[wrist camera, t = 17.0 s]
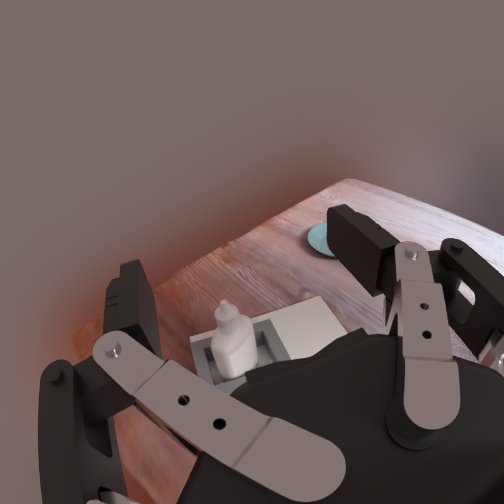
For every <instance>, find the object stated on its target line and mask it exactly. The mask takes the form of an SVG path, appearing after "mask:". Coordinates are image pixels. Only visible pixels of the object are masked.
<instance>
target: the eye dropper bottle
mask: <svg viewBox="0 0 504 504" xmlns="http://www.w3.org/2000/svg"><path fill="white" fill-rule="evenodd" d="M214 316H215V319H216V323H217V328H216V330H215V332H214V334H213V337H212V341H211V350H212V353H213V356H214V359H215V362H216V365H217V367H218V370H219V373H220V375H221V378H222V380H223V382H224V383H225V382H228V381H231V380H234V379H238V378H241V377H244V376H245V373H244V372H247V371H250V370H253V369H256V366H257V362H258V352H257V346H256V340H255V335H254V329H253V324H252V321H251V319H250V318H249V317H248V316H245V315H242V314H239V311H238V308H237V307H236V306H234V305H232V304H228V302H227V300H221V301H220V306H219V307H218V308H217V309H216V310H215V312H214Z"/></svg>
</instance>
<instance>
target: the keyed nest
mask: <svg viewBox="0 0 504 504" xmlns="http://www.w3.org/2000/svg"><path fill="white" fill-rule="evenodd" d="M251 321H252V324H253V329H254V335H255V340H256V346H257V352H258V362H257V366H256V368H259V367H262V366H265V365H268V364H271V363H274V362H278V361H285V360H292V359H299V358H306V357H310V356H313V355H314V354H316V353H317V352H318V351H320V350H321V349H323V348H324V347H325V346H327V345H328V344H330V343H331V342H332V341H334V340H335V339H336V338H339V337H341V336H344V335H346V334H348V333H347V332H346V330H345V329H344V328H343V326H342V325H341V324H340V322H339V321H338V319H337V318H336V317H335V315H334V314H333V313H332V311H331V310H330V309H329V307H328V306H327V305H326V303H325V302H324V300H323V299H322V298H321V296H320V295H319V296H317V297H314V298H311V299H308V300H305V301H302V302H299V303H297V304H294V305H291V306H288V307H285V308H282V309H279V310H276V311H273V312H270V313H267V314H264V315H260V316H257V317H254V318H251ZM215 330H216V329H215ZM215 330H212V331H208V332H205V333H201V334H198V335H194V336H191V337H190V342H191V343H190V346H191V351H192V355H193V359H194V363H195V367H196V371H197V375H198V377H199V378H201V379H203V380H204V381H206V382H207V383H209V384H211V385H212V386H214V387H216V388H217V389H219V390H221V391H222V392H224V393H226V394H228V395H230V394H231V393H232V392H233V391H234V390H235V389H236V388H238V387H239V386H240V385H242V384H243V383H245V382H246V381H247V380H246V376H244V377H241V378H238V379H234V380H231V381H228V382H225V383H224V382H223V380H222V378H221V375H220V373H219V370H218V367H217V365H216V362H215V359H214V356H213V353H212V350H211V341H212V337H213V334H214V332H215Z"/></svg>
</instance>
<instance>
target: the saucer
mask: <svg viewBox="0 0 504 504" xmlns="http://www.w3.org/2000/svg"><path fill="white" fill-rule="evenodd" d="M326 237H327V222H323V223H320V224H318V225H316V226H314V227H313V228H312V229H311V230H310V231H309V233H308V242H309V243H310V245H311V246H312V247H313V248H314V249H316V250H317V251H318V252H320V253H322V254H324V255H327V256H331V257H335V256H334V255H333V254H332V252H331V251H330V250H329V247H328V245H327V239H326Z"/></svg>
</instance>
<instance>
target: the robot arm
mask: <svg viewBox="0 0 504 504" xmlns="http://www.w3.org/2000/svg"><path fill="white" fill-rule="evenodd" d="M326 239H327V245H328V247H329V250H330V251H331V252H332V254H333V255H334V256H335V257H336V258H337V259H338V260H339V261H340V262H341V263H342V264H343V265H344V266H345V267H346V268H347V270H348V271H349V272H350V273H351V274H352V275H353V276H354V277H355V278H356V279H357V280H358V282H359V283H360V284H361V285H362V286H363V287H364V288H365V289H366V290H367V291H368V293H369V294H370V295H371V296H372V297H375V296H377V295H380V294H382V293H383V294H384V295H385V298H384V308H383V333H382V334H372V335H368V334H367V333H366V332H365V330H364V329H363V328H360V329H357V330H355V331H353V332H351V333H348V334H346V335H344V336H341V337H339V338H336V339H335V340H334V341H332V342H331V343H330V344H328V345H327V346H325V347H324V348H323V349H321V350H320V351H318V352H317V353H316V354H314V355H313V356H310V357H306V358H299V359H292V360H285V361H278V362H274V363H271V364H268V365H265V366H262V367H259V368H256V369H253V370H250V371H247V372H244V373H245V376H246V380H247V381H246V382H245V383H243V384H242V385H240V386H239V387H238V388H236V389H235V390H234V391H233V392H232V393H231V394H230V395H228V394H226V393H224V392H222V391H221V390H219V389H217V388H216V387H214V386H212V385H211V384H209V383H207V382H206V381H204V380H203V379H201V378H199V377H198V376H196V375H195V374H193V373H192V372H190V371H189V370H187V369H185V368H184V367H182V366H181V365H179V364H178V363H176V362H175V361H173V360H171V359H167V360H166V361H165V362H164V361H163V360H162V354H161V347H160V339H159V332H158V324H157V315H156V306H155V300H154V296H153V292H152V289H151V287H150V285H149V282H148V280H147V277H146V275H145V273H144V270H143V267H142V265H141V262H140V260H139V259H136V260H132V261H129V262H126V263H122V264H121V266H120V277H119V278H116V279H112V281H111V282H110V284H109V286H108V288H107V289H106V301H105V311H104V325H103V336H102V337H100V338H99V339H98V340H97V342H96V343H95V345H94V347H93V353H92V354H93V355H92V356H90V357H89V358H87V359H86V360H84V361H82V362H80V363H78V364H76V365H75V366H72V365H71V364H70V362H68V361H66V360H56V361H54V362H52V363H51V364H49V365H48V366H47V367H46V368H45V370H44V371H43V373H42V376H41V380H40V391H39V410H38V454H39V472H40V483H41V493H42V501H43V504H141V503H140V502H138V501H136V500H134V499H131V498H129V497H128V493H127V489H126V484H125V480H124V475H123V472H122V466H121V461H120V456H119V450H118V445H117V439H116V433H115V426H114V419H113V415H115V414H117V413H118V412H120V411H122V410H124V409H126V408H128V407H129V406H131V405H133V406H134V407H136V408H137V409H138V410H139V411H140V412H141V413H142V414H143V415H145V416H146V417H147V418H148V419H149V420H150V421H152V422H153V423H154V424H155V425H156V426H158V427H159V428H160V429H161V430H162V431H164V432H165V433H166V434H167V435H168V436H170V437H171V438H172V439H173V440H174V441H175V442H177V443H178V444H179V445H180V446H182V447H183V448H184V449H185V450H187V451H188V452H189V453H191V454H192V455H194V456H195V457H196V458H197V460H196V462H195V465H194V467H193V469H192V471H191V473H190V475H189V478H188V480H187V482H186V484H185V486H184V488H183V491H182V493H181V495H180V497H179V499H178V501H177V503H176V504H504V276H503V275H501V274H500V273H499V272H498V271H497V270H496V269H495V268H494V267H493V266H492V265H490V264H489V263H488V262H487V261H486V260H485V259H484V258H482V257H481V256H480V255H479V254H478V253H477V252H475V251H474V250H473V249H472V248H471V247H469V246H468V245H467V244H466V243H464V242H463V241H461V240H458V239H454V238H447V239H445V240H443V241H442V244H441V248H440V250H435V251H427V250H426V249H425V248H424V247H423V246H421V245H420V244H418V243H415V242H409V241H406V242H400V241H399V240H397V239H396V238H395V237H394V236H393V235H391V234H390V233H389V232H388V231H386V230H385V229H384V228H382V227H381V226H380V225H379V224H377V223H375V221H373V220H372V219H371V218H370V217H368V216H366V215H363V214H361V213H358V212H355V211H354V210H353V209H351V208H350V207H349V206H347V205H346V204H342V205H338V206H334V207H330V208H328V210H327V237H326ZM461 281H463V282H464V283H465V284H466V285H467V286H468V287H469V288H470V289H471V290H472V291H473V292H474V294H475V304H474V306H473V305H472V304H471V303H470V302H469V301H468V300H467V299H466V298H465V297H464V296H463V295H462V294H461V293H460V292H459V291H458V288H459V286H460V283H461ZM448 324H449V325H450V327H451V328H452V329H453V330H454V331H455V332H456V334H457V335H458V336H459V337H460V338H461V340H462V341H463V342H464V343H465V345H466V346H467V347H468V348H469V350H470V351H471V352H472V353H473V355H474V356H475V357H476V358H477V360H478V361H479V364H478V363H474V362H471V361H468V360H465V359H462V358H459V357H456V356H453V355H452V349H451V341H450V333H449V325H448Z"/></svg>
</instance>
